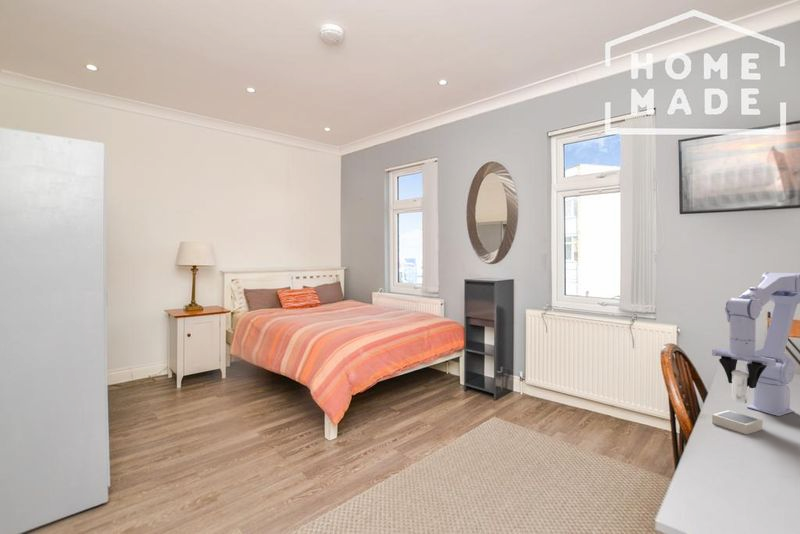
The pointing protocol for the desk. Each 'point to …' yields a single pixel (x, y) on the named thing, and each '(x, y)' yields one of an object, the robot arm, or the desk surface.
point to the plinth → (737, 422)
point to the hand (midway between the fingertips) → (741, 385)
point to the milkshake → (740, 386)
